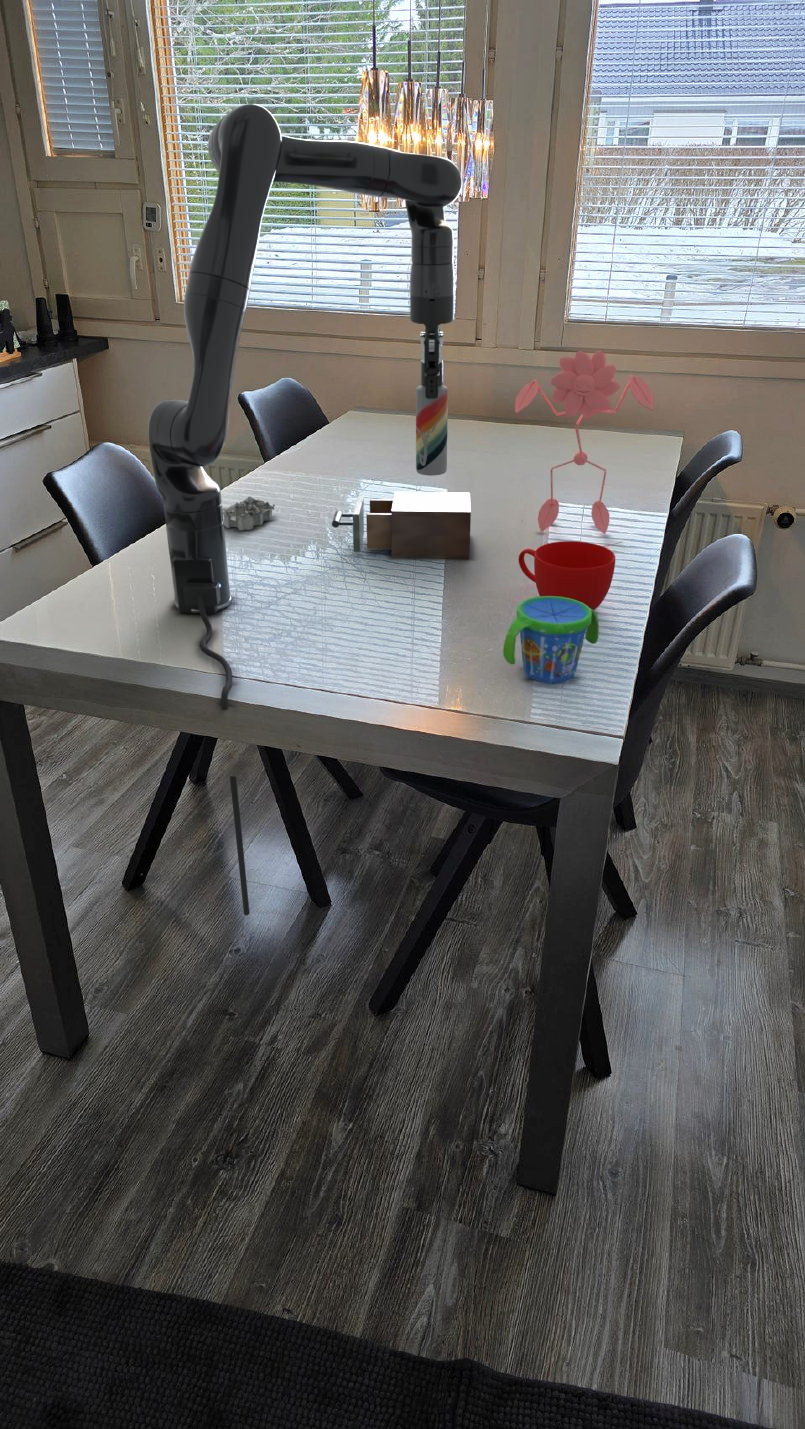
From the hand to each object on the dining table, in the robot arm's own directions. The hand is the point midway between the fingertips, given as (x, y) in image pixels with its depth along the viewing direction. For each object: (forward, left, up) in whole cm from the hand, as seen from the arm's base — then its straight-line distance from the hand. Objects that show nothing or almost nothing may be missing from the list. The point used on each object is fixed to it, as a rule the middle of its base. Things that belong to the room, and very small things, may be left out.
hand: (431, 393), depth 178 cm
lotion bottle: (0, 0, -14) cm, 14 cm away
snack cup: (-52, -18, -29) cm, 62 cm away
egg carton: (+15, +38, -29) cm, 50 cm away
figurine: (+9, -28, -29) cm, 41 cm away
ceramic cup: (-28, -22, -29) cm, 46 cm away
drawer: (+1, +10, -28) cm, 30 cm away
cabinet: (+1, 0, -29) cm, 29 cm away
